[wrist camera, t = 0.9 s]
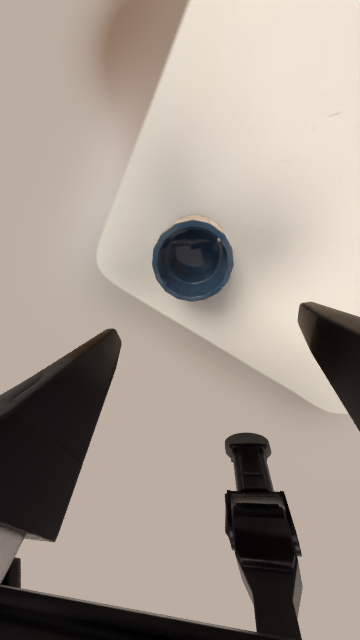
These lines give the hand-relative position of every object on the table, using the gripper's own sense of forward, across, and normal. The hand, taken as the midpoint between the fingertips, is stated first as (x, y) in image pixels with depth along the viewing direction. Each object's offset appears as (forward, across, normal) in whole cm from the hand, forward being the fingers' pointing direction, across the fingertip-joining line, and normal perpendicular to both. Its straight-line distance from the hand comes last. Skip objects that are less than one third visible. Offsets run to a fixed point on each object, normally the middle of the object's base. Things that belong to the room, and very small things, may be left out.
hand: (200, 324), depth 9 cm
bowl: (+11, 0, -1) cm, 11 cm away
